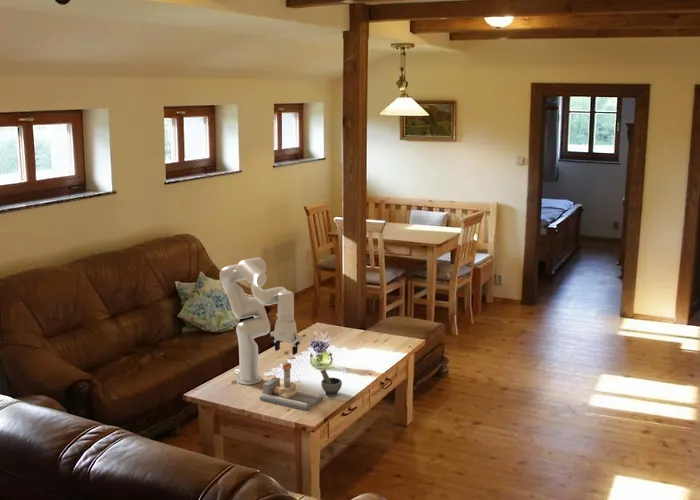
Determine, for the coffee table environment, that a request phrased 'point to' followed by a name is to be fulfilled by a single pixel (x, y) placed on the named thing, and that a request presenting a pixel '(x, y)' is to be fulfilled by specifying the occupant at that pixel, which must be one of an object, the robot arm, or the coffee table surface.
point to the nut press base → (296, 401)
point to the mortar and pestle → (330, 384)
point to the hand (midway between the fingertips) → (286, 351)
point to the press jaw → (287, 383)
